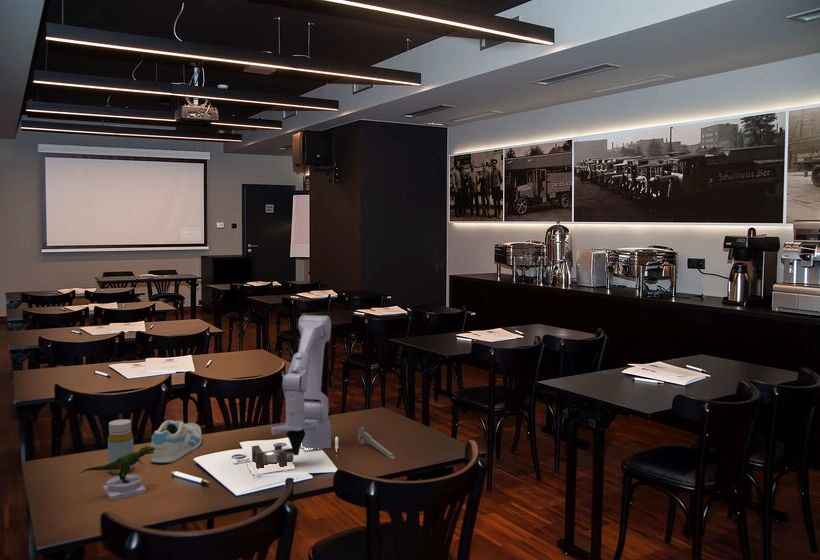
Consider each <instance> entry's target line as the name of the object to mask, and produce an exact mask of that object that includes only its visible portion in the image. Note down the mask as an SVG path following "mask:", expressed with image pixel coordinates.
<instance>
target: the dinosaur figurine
mask: <svg viewBox="0 0 820 560" xmlns="http://www.w3.org/2000/svg"><path fill="white" fill-rule="evenodd" d="M154 450H155V449H154V447H151V446H149V445H145V446H143V447H140V449H138V451H135V452H133V453H129V454H127V455H126V456H123V457H120V458H118V459H117V460H116V461H114V462H112V463H109V462H108V463H107V464H105V465H98V466H93V467H89V468H86V469H85V468H84V470H82V471H80V472H79V474H82V473H85V472H88V471H89V472H90V471H109V470H120V473H119V474H118V475H116V476H113V477H111V478H109V479H107V481H106V485H103V486H102V489H103V492H104V493H105V495H106V496H107V498H108V497H109V498H108V500H113V501H116V499H117V500H120V499H121V498H122V499H126V498H131V497H134V496H139V495H144V494H147V488H146V487H145V486H144V485H143V483H142V479H143V478H142V476H141V475H138V474H134V473H133V474H131V473H130V472H129V471H130V466H131V465H134V466H135V465H136V463H137V462H139V463H140V464H145V463H143V462H142V461H141V460H140V459H141V458H142V457H144V456H145V455H152V453H154ZM123 472H124V473H123ZM122 473H123V474H122ZM129 473H130V474H129ZM122 499H121V500H122Z"/></svg>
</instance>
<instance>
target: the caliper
mask: <svg viewBox="0 0 820 560" xmlns="http://www.w3.org/2000/svg"><path fill="white" fill-rule="evenodd" d="M365 430H366V429H365V427H364V426H360V427H359V429H358V433H357V442H358V443H357V444H360V445H361V446H362V445H365V443H367V445H372V446H373V447H374V448H375V449H377V450H378V451H379V452H380V453H382V454H383V455H385V456H386V457H387V458H389V459H391V460H395V459H396V458H395V456H394V454H393V453H392V452H391V451H389V450H388V449H387V448H385V447H384V446H383V445H381V444H380V443H379V442H378V441H376V440H375V439H374V438H373V436H372V435H370V433H368V432H367V431H365Z"/></svg>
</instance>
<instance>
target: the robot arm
mask: <svg viewBox="0 0 820 560" xmlns="http://www.w3.org/2000/svg"><path fill="white" fill-rule="evenodd" d="M298 331H299V334H300V341H299V346H298V352H296V353H294V354H293V356H292V360H291V362H290V366H289V369H288V372H287V373H285V374H284V375H283V377H282V385H281V386H282V390H283V396H284V398H285V423H284V424H281V425H276V426H271V428H270V429H271V434H272V435H273V436H275V435H277V434H279V435H280V434H284V433H285V434H286V436H287V438H288V441H289V443H290V446H291V448H292V450H293V456H299V453H300V449H301V447H300V446H301V443H302V446H303V447H305V448H308V449H309V448H310V449H311V448H313V449H317V450H322V449H323V450H324V449H330V448H332V427H331V421H330V420H329V419H328V416H329V409H330V408H329V398H328V397H327V395H326V394H324V393H323V392H322V391H321V390H322V378H323V366H324V355H325V346H326V343H327V342H330V340H331V339H330V338H331V332H332V322H331V318H330V316H329V315H306V314H301V316H300V317H299V319H298ZM318 448H319V449H318Z"/></svg>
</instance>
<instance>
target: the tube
mask: <svg viewBox="0 0 820 560" xmlns="http://www.w3.org/2000/svg"><path fill="white" fill-rule="evenodd" d="M283 451H286V452H287V462H292V463H293V461H294V454H293V450H292V447H289V448H282V449H281V450H275V449H274V450H267V451H266V450H265V451H263V460H264V465H268V464H277V463H279V452H283ZM255 463H256V454H255Z"/></svg>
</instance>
